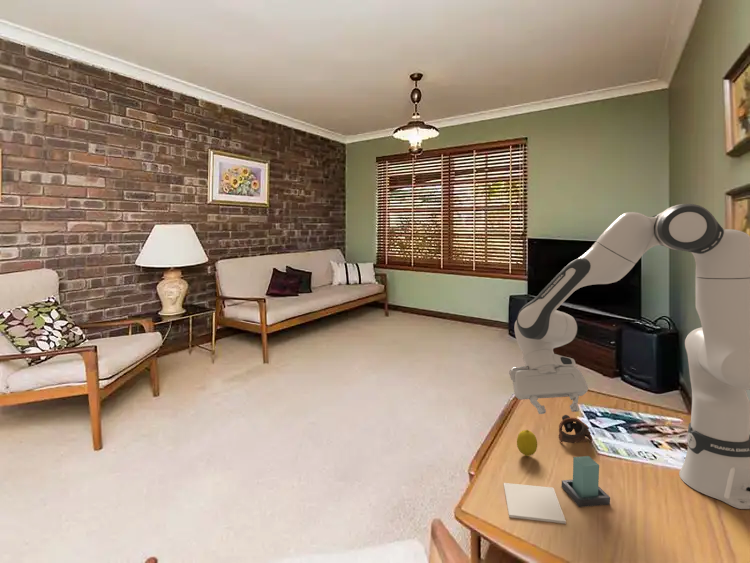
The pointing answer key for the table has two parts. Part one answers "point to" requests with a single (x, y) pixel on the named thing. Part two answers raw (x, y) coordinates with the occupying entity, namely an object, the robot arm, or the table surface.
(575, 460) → the teal block
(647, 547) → the table surface
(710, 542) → the table surface
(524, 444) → the lemon
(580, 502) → the metal cradle
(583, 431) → the pottery mug
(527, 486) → the white mat
